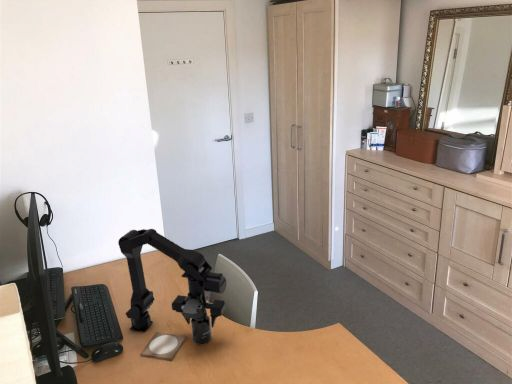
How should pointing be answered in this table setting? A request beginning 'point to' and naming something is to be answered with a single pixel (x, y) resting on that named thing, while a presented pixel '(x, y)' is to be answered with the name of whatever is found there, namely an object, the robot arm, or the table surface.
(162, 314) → the table surface
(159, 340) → the walnut board
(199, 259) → the robot arm
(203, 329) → the supplement bottle
